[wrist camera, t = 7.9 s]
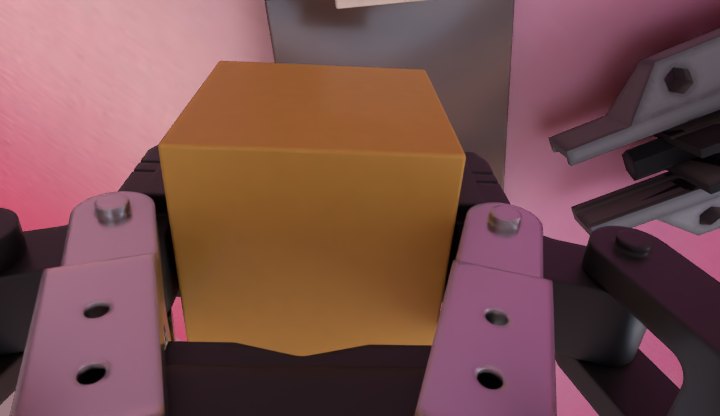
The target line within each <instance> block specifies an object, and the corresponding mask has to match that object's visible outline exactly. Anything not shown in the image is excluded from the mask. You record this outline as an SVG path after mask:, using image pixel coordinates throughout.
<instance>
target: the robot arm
mask: <svg viewBox="0 0 720 416" xmlns="http://www.w3.org/2000/svg"><path fill="white" fill-rule="evenodd" d="M464 153H465V156H466V161H465V167H464V173H463V179H462V185H461V191H460V197H459V202H458V208H457V214H456V220H455V226H454V232H453V238H452V244H451V250H450V256H449V262H448V268H447V274H446V280H445V286H444V292H443V298H442V307H441V311H440V315H439V319H438V323H437V327H436V331H435V335H434V339H433V343H432V345H374V344H369V345H363V346H358V347H352V348H347V349H341V350H336V351H330V352H325V353H319V354H314V355H308V356H296V355H291V354H286V353H282V352H277V351H272V350H268V349H263V348H258V347H254V346H249V345H245V344H240V343H235V342H182V341H176V339H175V329H174V319H173V313H172V305H173V303H174V300H175V298H176V297H181V296H180V289H179V282H178V276H177V269H176V262H175V256H174V249H173V242H172V236H171V229H170V223H169V216H168V209H167V203H166V196H165V189H164V183H163V176H162V169H161V163H160V156H159V149H158V145H157V146H155V147H153V148H151V149H150V150H148V152H147V153H146V154H145V156H144V157H143V158H142V160H141V163H139V164H138V165H137V166H136V168H135V169H134V172H132V173H131V174H130V176H129V177H128V178H127V180H126V181H125V182H124V184H123V185H122V186H121V188H120V189H119V190H118V192H110V193H105V194H100V195H97V196H94V197H91V198H89V199H87V200H85V201H83V202H81V203H80V204H78V205H77V206H76V207H75V208H74V209H73V210H72V212H71V214H70V219H69V224H68V225H65V226H59V227H53V228H46V229H39V230H32V231H24V232H23V231H22V228H21V225H20V222H19V218H18V216H17V214H16V213H14V212H13V211H11V210H8V209H4V208H0V405H1V404H2V403H3V401H5V400H6V399H7V398H8V397H9V396H10V395H11V394H12V393H13V392H14V391H15V395H14V399H13V403H12V407H11V412H10V416H557V406H556V373H555V360H556V362H557V364H558V365H559V367H560V368H561V369H562V370H563V372H564V373H565V374H566V375H567V377H568V378H569V379H570V380H571V381H572V383H573V384H574V385H575V386H576V388H577V389H578V390H579V391H580V392H581V394H582V395H583V396H584V397H585V399H586V400H587V401H588V402H589V403H590V405H591V406H592V407H593V408H594V410H595V411H596V412H597V413H598V415H599V416H720V282H718V281H717V280H715V279H714V278H713V277H711V276H710V275H709V274H707V273H706V272H704V271H703V270H702V269H700V268H699V267H697V266H696V265H695V264H693V263H692V262H690V261H689V260H688V259H686V258H685V257H683V256H682V255H681V254H679V253H678V252H677V251H675V250H674V249H672V248H671V247H670V246H668V245H667V244H665V243H664V242H663V241H661V240H659V239H658V238H656V237H654V236H652V235H650V234H648V233H645V232H643V231H640V230H637V229H633V228H629V227H623V226H604V227H599V228H597V229H595V230H594V231H593V232H592V233H591V235H590V238H589V241H588V244H587V246H583V245H578V244H574V243H569V242H564V241H559V240H555V239H552V238H549V237H546V236H543V226H542V223H541V221H540V220H539V219H538V218H537V217H536V216H535V215H534V214H532V213H531V212H529V211H527V210H525V209H523V208H520V207H518V206H514V205H511V204H510V202H509V201H508V199H507V197H506V195H505V193H504V191H503V190H502V188H501V186H500V184H498V180H497V179H496V177H495V175H493V171H492V169H491V168H490V166H489V164H488V162H487V161H486V160H484V159H483V158H481V157H480V156H479V155H477V154H476V153H474V152H464ZM646 329H648V330H650V331H651V332H652V333H653V334H654V335H655V336H656V337H657V338H658V339H659V340H660V341H661V342H663V343H664V344H665V345H666V346H667V347H668V348H669V349H670V350H671V351H672V352H673V353H674V354H675V355H676V357H677V358H678V360H679V362H680V364H681V366H682V370H683V384H682V387H681V389H679V388H678V387H677V386H676V385H675V384H674V383H673V382H672V381H671V380H670V379H669V378H668V377H667V376H666V375H665V374H664V373H663V372H662V371H661V370H660V369H659V368H658V367H657V366H656V365H655V364H654V363H653V362H652V361H651V360H650V359H649V358H647V357H646V356H645V355H644V354H643V353H642V352H641V351H640V350H639V349H638V348H639V346H640V343H641V341H642V339H643V336H644V334H645V332H646Z"/></svg>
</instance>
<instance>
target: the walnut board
mask: <svg viewBox="0 0 720 416" xmlns="http://www.w3.org/2000/svg"><path fill="white" fill-rule="evenodd" d="M264 1H265V7H266V13H267V18H268V24H269V30H270V36H271V42H272V48H273V54H274V60H275V63H282V64H305V65H328V66H351V67H373V68H396V69H419V70H425V71H426V73H427V75H428V77H429V79H430V81H431V83H432V85H433V88H434V90H435V92H436V94H437V96H438V98H439V100H440V102H441V104H442V107H443V109H444V111H445V113H446V115H447V117H448V119H449V121H450V123H451V126H452V128H453V130H454V132H455V134H456V136H457V138H458V140H459V142H460V145H461V147H462V149H463V151H464V152H474V153H476V154H477V155H479V156H480V157H481V158H483V159H484V160H486V161H487V162H488V164H489V166H490V168H491V169H492V171H493V175H495V177H496V179H497V180H498V184H500V186H501V188H502V190H503V191H504V174H505V156H506V139H507V121H508V104H509V86H510V69H511V51H512V33H513V16H514V0H424V1H414V2H403V3H393V4H383V5H372V6H362V7H352V8H341V9H338V8H336V4H335V0H264Z"/></svg>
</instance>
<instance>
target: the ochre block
mask: <svg viewBox="0 0 720 416" xmlns="http://www.w3.org/2000/svg"><path fill="white" fill-rule="evenodd" d="M158 149H159V156H160V163H161V169H162V176H163V183H164V189H165V196H166V203H167V209H168V216H169V223H170V229H171V236H172V242H173V249H174V256H175V262H176V269H177V276H178V282H179V289H180V296H181V302H182V309H183V315H184V322H185V329H186V335H187V342H235V343H240V344H245V345H249V346H254V347H258V348H263V349H268V350H272V351H277V352H282V353H286V354H291V355H296V356H308V355H314V354H319V353H325V352H330V351H336V350H341V349H347V348H352V347H358V346H363V345H369V344H374V345H432V343H433V339H434V335H435V331H436V327H437V323H438V319H439V315H440V310H441V304H442V298H443V292H444V286H445V280H446V274H447V268H448V262H449V256H450V250H451V244H452V238H453V232H454V226H455V220H456V214H457V208H458V202H459V197H460V191H461V185H462V179H463V173H464V167H465V161H466V156H465V153H464V151H463V149H462V147H461V145H460V142H459V140H458V138H457V136H456V134H455V132H454V130H453V128H452V126H451V123H450V121H449V119H448V117H447V115H446V113H445V111H444V109H443V107H442V104H441V102H440V100H439V98H438V96H437V94H436V92H435V90H434V88H433V85H432V83H431V81H430V79H429V77H428V75H427V73H426V71H425V70H419V69H396V68H373V67H351V66H328V65H305V64H282V63H260V62H237V61H220V62H218V64H217V65H216V67H215V68H214V69H213V71H212V72H211V73H210V75H209V76H208V77H207V79H206V80H205V82H204V83H203V84H202V86H201V87H200V88H199V90H198V91H197V92H196V94H195V95H194V97H193V98H192V99H191V101H190V102H189V103H188V105H187V106H186V107H185V109H184V110H183V112H182V113H181V114H180V116H179V117H178V118H177V120H176V121H175V122H174V124H173V125H172V127H171V128H170V129H169V131H168V132H167V133H166V135H165V136H164V137H163V139H162V140H161V142H160V143H159V145H158Z"/></svg>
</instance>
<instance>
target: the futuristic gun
mask: <svg viewBox="0 0 720 416" xmlns="http://www.w3.org/2000/svg"><path fill="white" fill-rule="evenodd" d="M666 75H667V77H666ZM665 77H666V78H665ZM664 78H665V79H664ZM651 135H652V136H654V137H657V138H658V139H656V140H653V141H650V142H648V143H645V144H642V145H640V146H637V147H635V148H632V149H629V150H627V151H625V152H624V153H623V154H622V157H623V160H624V164H625V167H626V170H627V171H628V173H629V174H630V176H631V177H632V178H633V180H634V181H636V180H638V179H641V178H644V177H646V176H649V175H652V174H655V173H657V172H660V171H663V170H668V171H669V172H666V173H663V174H660V175H658V176H655V177H652V178H649V179H647V180H644V181H641V182H638V183H636V184H633V185H630V186H628V187H625V188H622V189H619V190H617V191H614V192H611V193H608V194H606V195H603V196H600V197H597V198H595V199H592V200H589V201H586V202H584V203H581V204H578V205H576V206H573V207H571V208H572V212H573V215H574V218H575V220H576V221H577V222H578V223H579V224H580V225H581V226H582V227H583V228H584V229H585V231H586V232H587V233H588V234H589V235H591V233H592V232H593V231H594V230H595V229H597V228H599V227H604V226H623V227H629V228H632V227H635V226H638V225H641V224H644V223H647V222H649V221H652V220H655V219H657V220H659V221H662V222H664V223H667V224H670V225H672V226H675V227H678V228H680V229H683V230H685V231H688V232H691V233H693V234H696V235H701V234H704V233H707V232H710V231H712V230H715V229H718V228H720V28H718V29H715V30H713V31H710V32H708V33H705V34H703V35H700V36H698V37H696V38H693V39H691V40H688V41H686V42H683V43H681V44H678V45H676V46H673V47H671V48H668V49H666V50H664V51H661V52H659V53H656V54H654V55H651V56H649V57H646V58H644V59H641V60H640V62H639V63H638V65H637V66H636V68H635V70H634V71H633V73H632V74H631V76H630V77H629V79H628V81H627V82H626V84H625V85H624V87H623V89H622V90H621V92H620V93H619V95H618V97H617V98H616V100H615V101H614V103H613V105H612V106H611V108H610V109H609V111H608V113H607V114H606V115H605V116H603V117H600V118H598V119H595V120H593V121H590V122H588V123H585V124H582V125H580V126H577V127H575V128H572V129H570V130H567V131H565V132H562V133H560V134H557V135H554V136H552V137H549V141H550V144H551V147H552V150H553V151H554V152H558V151H559V152H560V153H561V154H563V155H564V156H565V157H566V158H567V161H568V164H569V165H571V166H572V165H575V164H578V163H580V162H583V161H585V160H588V159H591V158H593V157H596V156H599V155H601V154H604V153H606V152H609V151H612V150H614V149H617V148H620V147H622V146H625V145H628V144H630V143H633V142H635V141H638V140H641V139H643V138H646V137H649V136H651Z"/></svg>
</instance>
